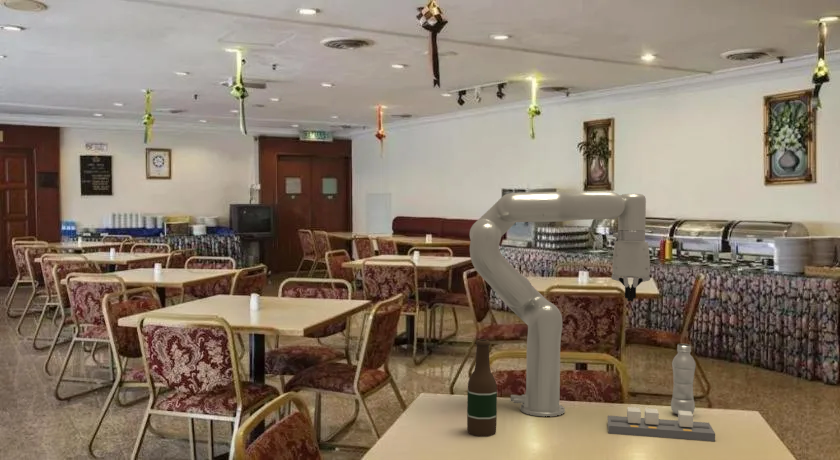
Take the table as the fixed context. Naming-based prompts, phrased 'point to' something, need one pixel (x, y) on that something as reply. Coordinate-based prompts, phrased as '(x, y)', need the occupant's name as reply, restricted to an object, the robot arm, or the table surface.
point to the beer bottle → (482, 395)
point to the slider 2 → (651, 416)
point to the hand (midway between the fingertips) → (630, 300)
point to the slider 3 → (685, 418)
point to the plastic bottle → (683, 380)
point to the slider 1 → (633, 415)
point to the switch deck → (661, 429)
